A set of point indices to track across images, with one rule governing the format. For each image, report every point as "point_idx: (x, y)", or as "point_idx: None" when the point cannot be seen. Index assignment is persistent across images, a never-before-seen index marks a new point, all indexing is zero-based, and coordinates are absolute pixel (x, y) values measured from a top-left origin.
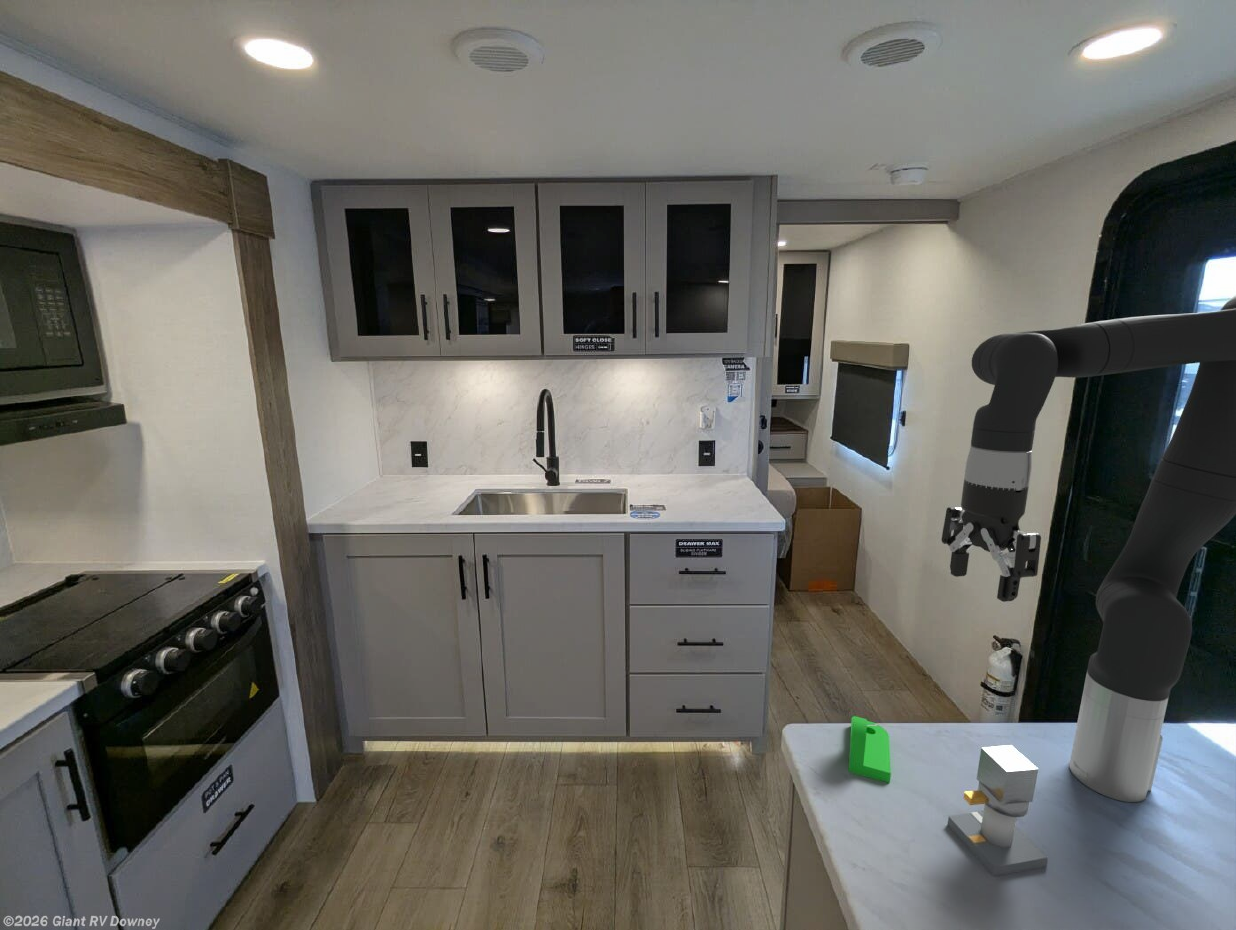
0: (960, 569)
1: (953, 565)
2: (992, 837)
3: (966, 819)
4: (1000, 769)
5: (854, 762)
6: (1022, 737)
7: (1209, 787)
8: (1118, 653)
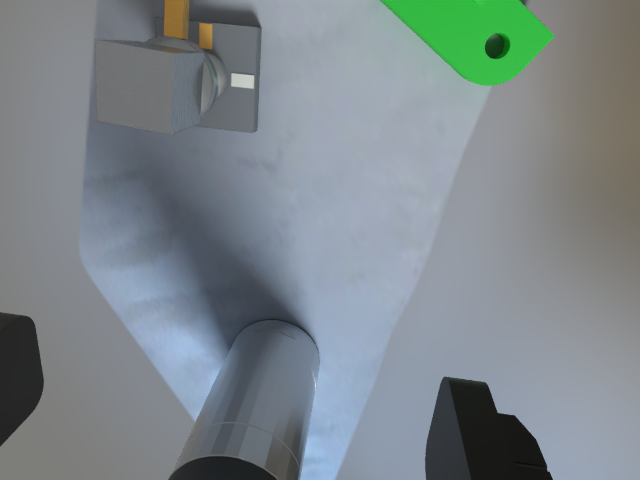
0: (441, 456)
1: (480, 439)
2: None
3: (244, 54)
4: (116, 42)
5: None
6: (385, 335)
7: None
8: None
